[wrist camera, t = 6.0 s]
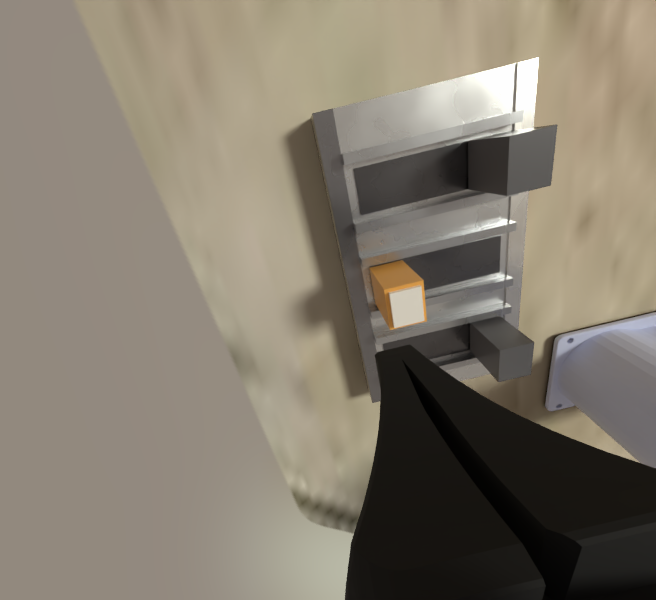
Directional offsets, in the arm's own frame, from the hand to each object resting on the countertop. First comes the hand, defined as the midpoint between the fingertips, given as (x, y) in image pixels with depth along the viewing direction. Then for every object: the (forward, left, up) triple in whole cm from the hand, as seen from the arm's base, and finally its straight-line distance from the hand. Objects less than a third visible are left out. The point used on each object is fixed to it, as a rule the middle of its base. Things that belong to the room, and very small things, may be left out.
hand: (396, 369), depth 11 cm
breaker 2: (-8, +6, -8) cm, 13 cm away
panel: (-5, 0, -10) cm, 11 cm away
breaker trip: (-2, 0, -8) cm, 8 cm away
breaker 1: (-8, -5, -8) cm, 12 cm away
